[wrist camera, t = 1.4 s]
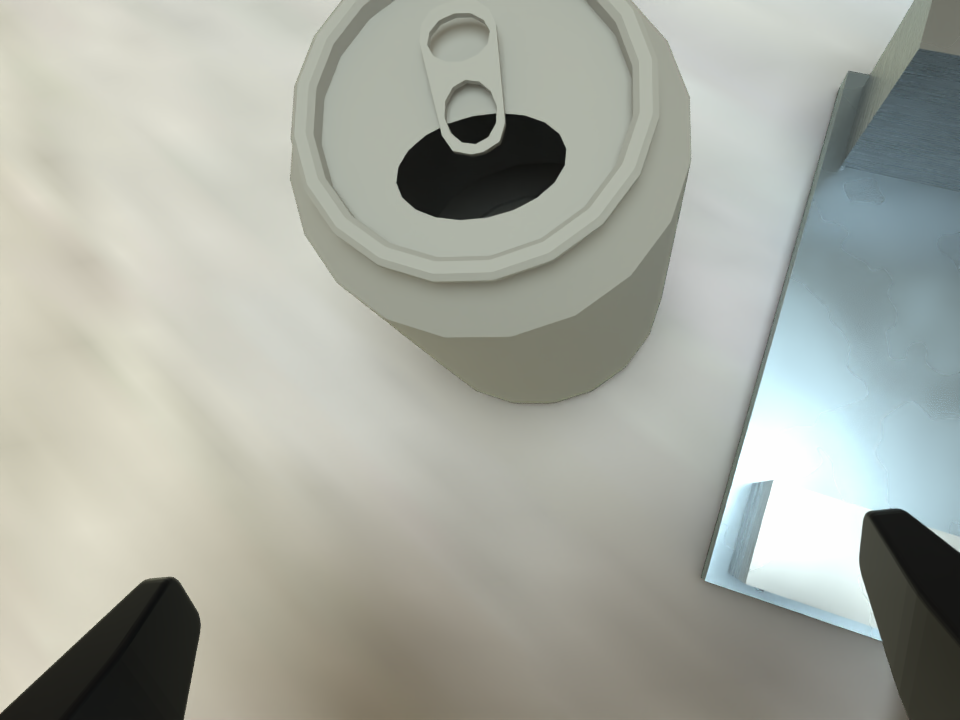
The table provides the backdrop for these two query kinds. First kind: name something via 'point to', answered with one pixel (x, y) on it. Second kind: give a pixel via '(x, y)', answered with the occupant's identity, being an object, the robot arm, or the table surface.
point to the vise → (859, 343)
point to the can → (496, 180)
